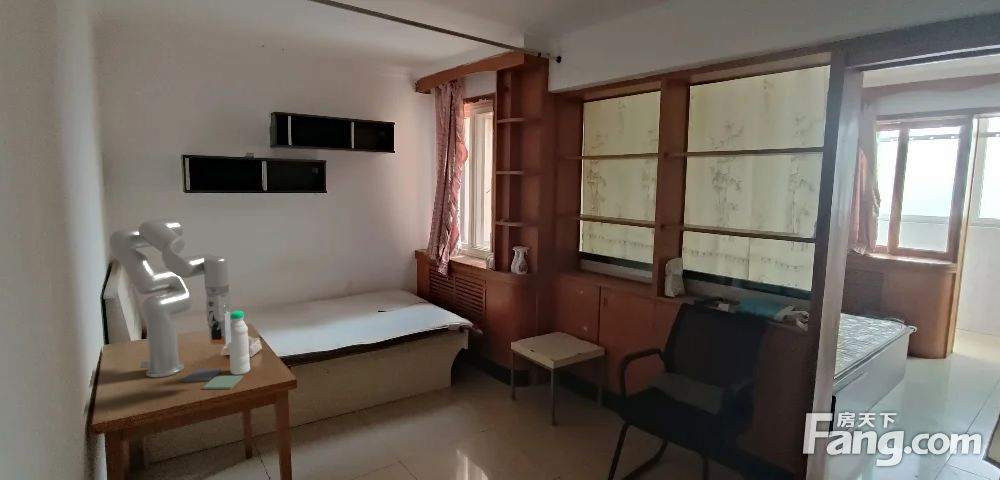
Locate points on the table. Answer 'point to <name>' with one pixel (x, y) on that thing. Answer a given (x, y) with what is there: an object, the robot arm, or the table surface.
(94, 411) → the table surface
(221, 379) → the sage mat
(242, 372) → the water bottle
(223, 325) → the skincare box
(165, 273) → the robot arm
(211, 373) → the charcoal mat
